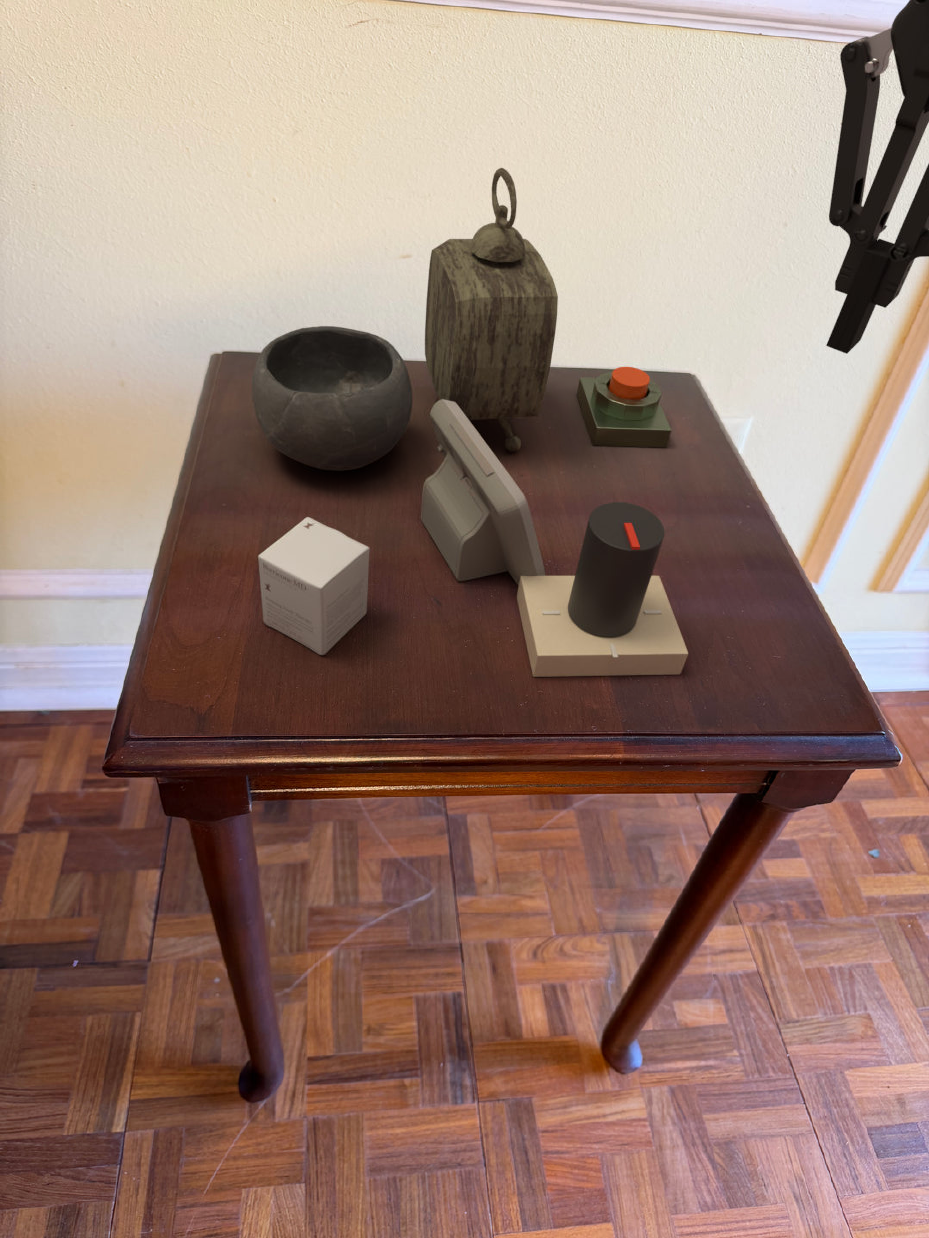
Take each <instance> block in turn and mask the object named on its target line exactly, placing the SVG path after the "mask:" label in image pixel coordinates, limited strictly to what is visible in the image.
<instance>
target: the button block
mask: <svg viewBox="0 0 929 1238" xmlns="http://www.w3.org/2000/svg"><path fill="white" fill-rule="evenodd" d="M613 371H614V370H610V371H608V372H604V373H601V374H599V376H598V377H588V376H587V377H584V376H582V377H581V376H580V377H579V380H578V385H577V389H576V397H577V400H578V404H579V407H580V410H581V412H582V413H581V414H582V415H583V419H584V423H585V425H586V428H587V431H588V434H589V437H590V441H591V444H592V446H601V447H602V446H605V447H633V448H634V447H635V448H636V447H637V448H638V447H639V448H668V445H669V441H670V437H671V434H672V431H673V430H672V428H671V426H670V423H669V420H668V418H667V415H666V414H665V412H664V410H663V407H662V405H661V403H660V402H661V401H660V400H661V398H662V391H661V389H660V387H659V385H658V384H657V383H656V382H654V381H653V380H651V379H650V382H649V386H648V390H647V393H646V396H645V397H644V398H642V399H639V400H634V399H624V398H621V397H618V396H616V395H615V394H613V393H612V392H610V391H609V384H610V380H611V376H612V372H613Z"/></svg>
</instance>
